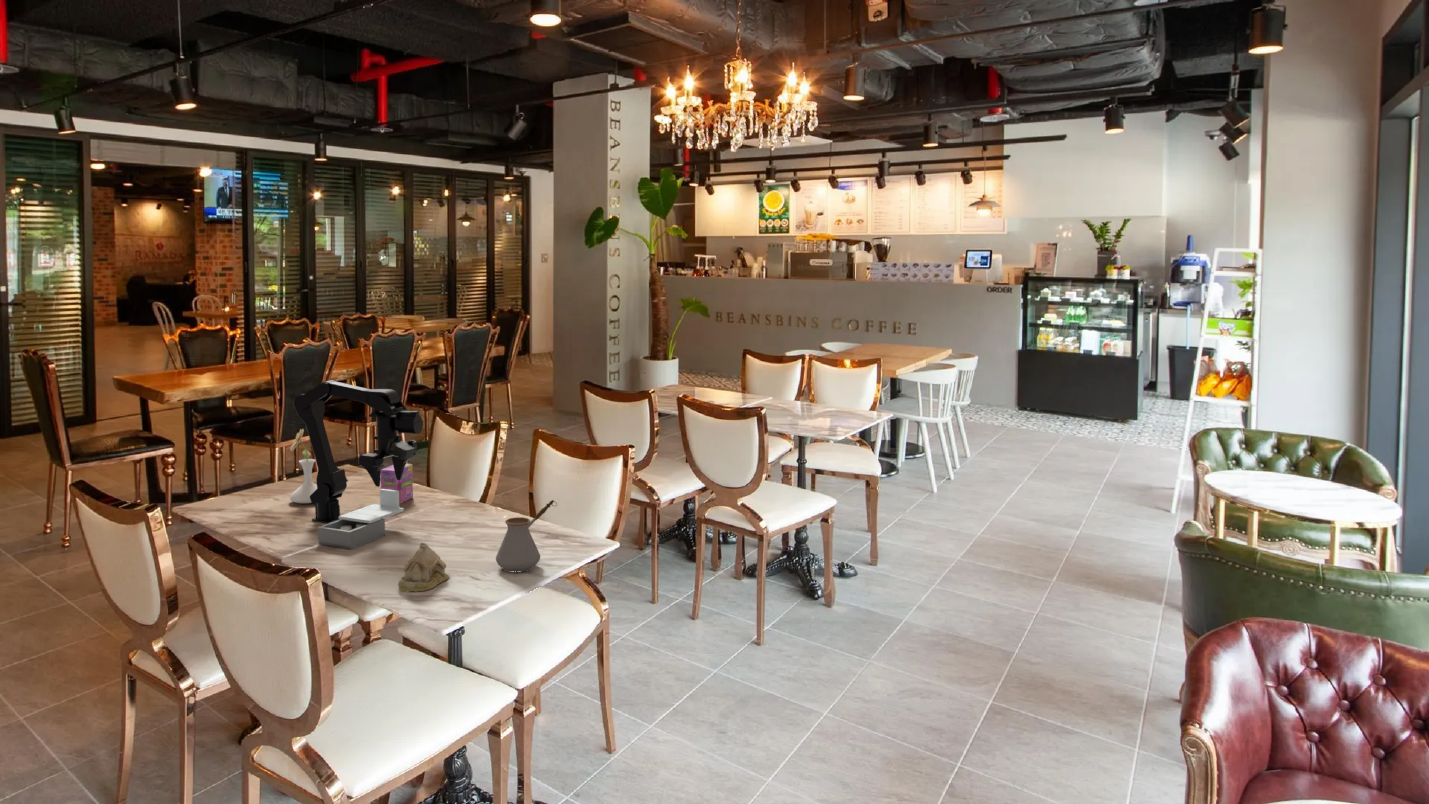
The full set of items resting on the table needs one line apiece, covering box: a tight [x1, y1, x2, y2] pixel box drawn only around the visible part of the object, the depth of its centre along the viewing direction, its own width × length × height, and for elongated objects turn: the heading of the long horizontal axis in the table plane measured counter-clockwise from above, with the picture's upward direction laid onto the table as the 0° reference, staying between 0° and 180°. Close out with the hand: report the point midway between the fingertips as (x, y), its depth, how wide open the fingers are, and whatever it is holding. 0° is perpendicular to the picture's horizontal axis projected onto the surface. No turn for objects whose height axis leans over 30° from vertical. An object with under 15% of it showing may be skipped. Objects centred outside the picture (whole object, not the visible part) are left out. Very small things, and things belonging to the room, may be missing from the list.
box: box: [380, 463, 414, 505], centre depth 291 cm, size 10×6×12 cm, turn 168°
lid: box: [338, 488, 405, 523], centre depth 257 cm, size 11×16×6 cm
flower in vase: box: [289, 428, 317, 504], centre depth 286 cm, size 13×11×25 cm
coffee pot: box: [495, 499, 558, 573], centre depth 234 cm, size 21×12×15 cm, turn 153°
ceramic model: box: [397, 542, 450, 592], centre depth 218 cm, size 14×11×10 cm
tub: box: [317, 518, 386, 550], centre depth 250 cm, size 11×14×5 cm
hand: (388, 483), depth 264 cm, fingers open, 9 cm apart
